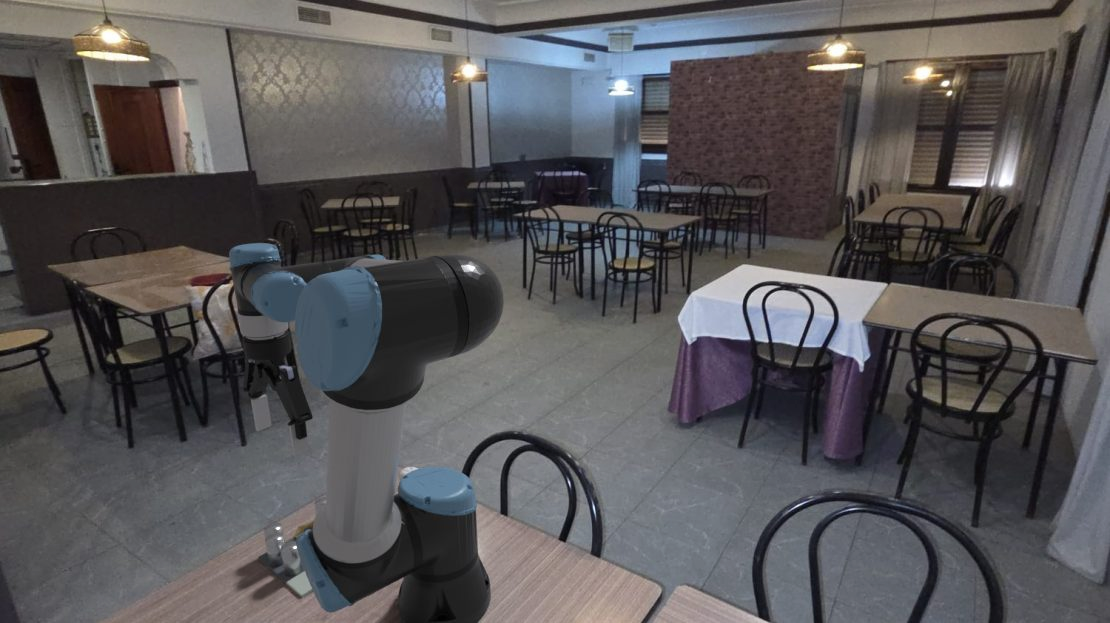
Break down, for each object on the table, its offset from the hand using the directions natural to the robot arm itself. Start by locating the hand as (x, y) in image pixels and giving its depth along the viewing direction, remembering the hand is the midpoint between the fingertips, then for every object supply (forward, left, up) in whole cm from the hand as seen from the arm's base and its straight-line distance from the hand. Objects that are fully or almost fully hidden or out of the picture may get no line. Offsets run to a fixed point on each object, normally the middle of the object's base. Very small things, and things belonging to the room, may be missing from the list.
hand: (281, 440), depth 108 cm
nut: (-6, 0, -20) cm, 21 cm away
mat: (-9, 0, -20) cm, 22 cm away
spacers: (-6, 0, -20) cm, 21 cm away
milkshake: (-12, -19, -21) cm, 31 cm away
